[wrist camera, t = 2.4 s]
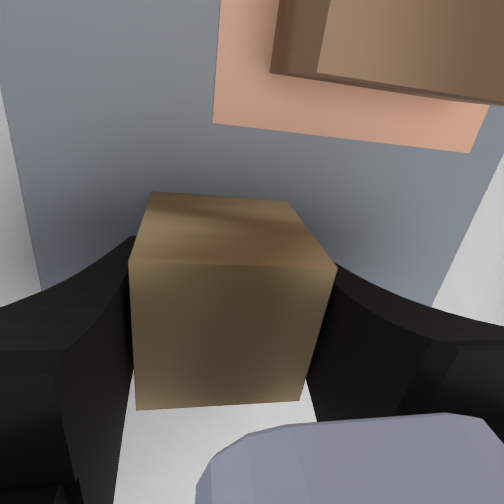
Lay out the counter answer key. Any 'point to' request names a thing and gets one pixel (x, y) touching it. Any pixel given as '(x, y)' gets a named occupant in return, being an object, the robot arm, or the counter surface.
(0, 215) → the counter surface
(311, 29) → the walnut base block
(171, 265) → the oak block
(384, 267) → the grey square plate
